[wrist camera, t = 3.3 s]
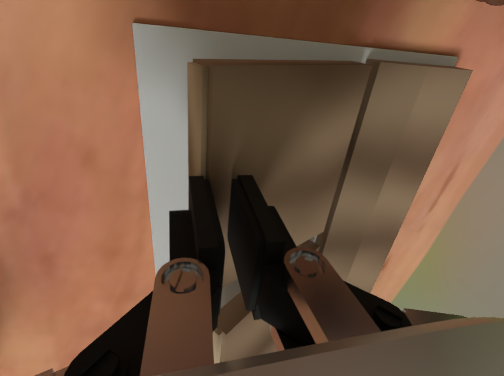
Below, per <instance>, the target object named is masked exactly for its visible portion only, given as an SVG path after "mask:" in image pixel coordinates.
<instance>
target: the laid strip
mask: <svg viewBox="0 0 504 376" xmlns="http://www.w3.org/2000/svg"><path fill="white" fill-rule="evenodd" d="M365 64H370V65H372V68H371V71H370V75H369V78H368V82H367V85H366V89H365V92H364V95H363V99H362V102H361V106H360V109H359V112H358V116H357V119H356V123H355V126H354V129H353V133H352V136H351V140H350V143H349V147H348V150H347V153H346V157H345V160H344V164H343V167H342V170H341V174H340V177H339V181H338V184H337V188H336V191H335V194H334V198H333V201H332V205H331V208H330V211H329V215H328V218H327V222H326V225H325V229H324V232H322V233H320V234H318V235H317V237H316V241H315V243H316V244H318V245H320V248H319V251H318V252H319V253H321V254H322V255H323V256H324V257H325V258H326V259H327V260H328V261H329V262H330V264H331V265H332V266H333V268H334V269H335V270H336V272H337V273H338V274H339V276H340V277H341V278H342V280H343V281H345V282H347V283H350V284H352V285H354V286H356V287H358V288H360V289H362V290H364V291H366V292H368V293H370V292H371V290H372V288H373V286H374V284H375V281H376V279H377V277H378V275H379V273H380V271H381V268H382V266H383V264H384V262H385V260H386V258H387V255H388V253H389V251H390V249H391V247H392V245H393V242H394V240H395V238H396V236H397V234H398V232H399V229H400V227H401V225H402V223H403V221H404V219H405V216H406V214H407V212H408V210H409V208H410V206H411V203H412V201H413V199H414V197H415V195H416V193H417V190H418V188H419V186H420V184H421V182H422V180H423V177H424V175H425V173H426V171H427V169H428V167H429V164H430V162H431V160H432V158H433V156H434V153H435V151H436V149H437V147H438V145H439V143H440V140H441V138H442V136H443V134H444V132H445V130H446V127H447V125H448V123H449V121H450V119H451V117H452V114H453V112H454V110H455V108H456V106H457V104H458V101H459V99H460V97H461V95H462V93H463V91H464V88H465V86H466V84H467V82H468V80H469V78H470V75H471V73H472V71H473V70H468V69H463V68H458V67H452V66H441V65H430V64H419V63H409V62H398V61H387V60H377V59H366V62H365Z"/></svg>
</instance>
